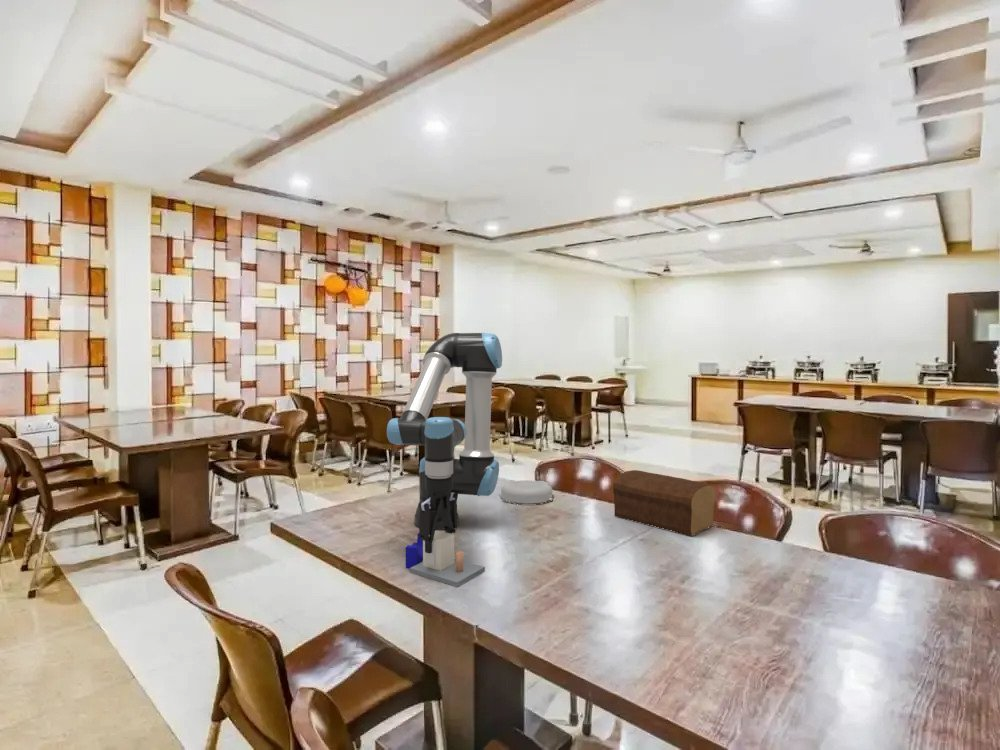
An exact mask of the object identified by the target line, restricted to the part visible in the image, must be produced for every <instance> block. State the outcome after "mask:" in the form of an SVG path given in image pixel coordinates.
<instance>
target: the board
mask: <svg viewBox="0 0 1000 750" xmlns="http://www.w3.org/2000/svg"><path fill="white" fill-rule="evenodd" d="M485 571H486V567H485V565H484V566H483V565H480V564H477V563H472V562H469V561H466V560H464V551H462V550H456V551H455V563H454V564H453V565H451V566H449V567H447V568H445V569H443V570H441V571H439V570H436V569H432V568H429V567H425V566H423V561H422V562H421V563H419V564H417V565H415V566H413V567H411V568H410V569H409V572H410V573H411V574H414V575H418V576H420V577H424V578H427V579H430V580H434V581H437V582H440V583H443V584H447V585H450V586H454V587H456V588H458V587H460V586H462V585H463V584H465V583H467V582H469V581H470V580H472V579H474V578H475V577H477V576H479V575H481V574H483V573H484V572H485Z"/></svg>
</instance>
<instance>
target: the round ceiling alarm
mask: <svg viewBox="0 0 1000 750" xmlns="http://www.w3.org/2000/svg"><path fill="white" fill-rule="evenodd" d="M501 485H502V486H501V489H500V491H501V492H500V494H501V496H500V498H501V499H502V500H504V499H505V500H507V501H506V502H508V501H510V502H509V503H511V502H513V504H516V503H520V504H522V505H534V504H533V503H540V504H543V503H542V502H545V501H548V500H549V501H552V500H553V497H552V495H553V487H552V485H551V484H550V483H549V482H547V481H544V480H512V479H511V480H507V481H506V482H504V483H503V484H501ZM505 500H504V501H505ZM549 501H548V502H549ZM545 503H546V502H545ZM516 506H519V505H518V504H517V505H516Z"/></svg>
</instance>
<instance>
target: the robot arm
mask: <svg viewBox="0 0 1000 750" xmlns="http://www.w3.org/2000/svg"><path fill="white" fill-rule="evenodd" d="M422 365H423V366H422V367H421V371H420V373H419V375H418V378H417V380H416V382H415V384H414V387H413V388H412V391H411V393H410V396H409V397H408V400H407V403H406V404H405V407H404V410H403V412H402V414H401V416H400V417H395V418H391V419H390V420H389V421H388V423H387V426H386V437H387V440H388V442H389V443H391V444H393V445H400V446H401V445H402V446H424V457H423V458H422V459H420V461H419V470H418V475H419V476H418V477H419V478H418V479H419V483H418V485H419V492H418V493H419V501H418V503H417V508H416V511H415V514H414V517H413V518H414V520H413V523H414V525H415V526H416V527H417V528H419V529H418V530H419V531H418V533H419V539H421V540H424V541H425V552H426V563H427V564H430V565H436V541H435V540H433V539H434V534H435V531H437V530H443V531H444V532H446V533H450V534H455V533H457V532H456V531H457V530H456V529H458V527H459V526H458V525H459V524H460V515H459V512H458V496H459V495H464V496H465V495H468V496H477V497H480V496H481V497H482V496H483V497H484V496H485V497H487V496H488V497H489V496H491V495H492V494H493V493H494V492H495V489H496V487H497V483H498V479H499V475H500V474H499V473H500V463H499V461H497V460H496V459H495V454H494V453H493V452H492V451H491V449H490V447H491V446H490V445H491V424H492V423H491V422H492V421H491V419H492V418H491V417H492V416H491V415H492V385H493V383H492V382H493V380H492V379H493V378H494V377H495V376H496V375H497V369H500V368H501V367H502V366H503V353H502V346H501V342H500V339H499V337H498V336H497V335H496V334H494V333H488V332H487V333H486V332H451V333H448V334H445V335H443V336H442V337H440V338H439V339H437V340H435V342H433V343H432V345H431V346H430V347H429V348H428V349H427V350H426V352H425V354H424V356H423V358H422ZM452 368H461V373H462V375H464V377H465V381H466V382H465V411H464V413H465V414H464V419H465V420H464V422H463V421H461V419H458V418H451V417H447V416H434V417H429V415H430V413H431V410H432V408H433V405H434V402H435V400H436V398H437V395H438V393H439V390H440V388H441V385H442V383H443V381H444V378H445V375H447V374H449V372H450V370H451V369H452ZM463 441H464V444H463V450H462V451H461V452H460V453H459V457H458V458H455V455H454V448H455V447H457V446H459V445H460V444H462V442H463ZM429 535H430V536H429Z"/></svg>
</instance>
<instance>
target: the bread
mask: <svg viewBox="0 0 1000 750" xmlns="http://www.w3.org/2000/svg"><path fill="white" fill-rule="evenodd" d="M612 491H613V503H614V516H615V517H617V516H618V517H617V518H620V517H621V518H620V519H623V518H625V519H624V520H627V519H629V520H628V521H631V520H633V521H632V522H635V521H637V522H636V523H638V522H641V523H644V524H643V525H645V524H649V525H648V526H650V525H653V526H656V527H659V528H658V529H660V528H664V529H668V530H672V531H675V532H674V533H676V532H678V533H677V534H679V533H682V534H681V535H684V534H685V535H684V536H688V535H689V537H693V536H695V535H697V534H699V533H701V532H700V531H702V532H704V531H706V530H707V529H706V528H708V527H710V528H712V527H713V525H714V511H715V501H716V494H717V493H716V491H717V490H716V488H715V486H714V485H712V484H709V483H705V482H704V483H703V482H701V481H696V480H690V479H687V478H682V477H676V476H671V475H664V474H661V473H660V474H658V473H653V472H648V471H644V470H636V469H635V470H633V469H631V470H627V471H624V472H621V473H620V474H618V475H617V476H616V477H615V478H614V480H613V482H612ZM641 523H640V524H641ZM653 526H652V527H653ZM656 527H655V528H656ZM664 529H663V530H664ZM705 529H706V530H705ZM708 529H709V528H708ZM668 530H667V531H668ZM703 530H704V531H703ZM672 531H671V532H672ZM698 532H699V533H698ZM696 533H697V534H696ZM694 534H695V535H694Z"/></svg>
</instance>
